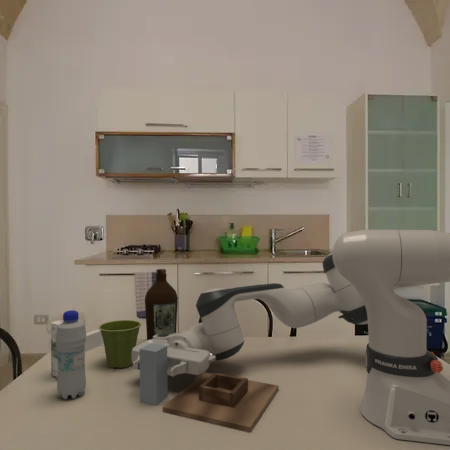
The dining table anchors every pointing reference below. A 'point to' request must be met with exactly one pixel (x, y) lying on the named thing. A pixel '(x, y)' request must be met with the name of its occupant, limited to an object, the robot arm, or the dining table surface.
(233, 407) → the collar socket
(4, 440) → the dining table surface
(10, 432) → the dining table surface
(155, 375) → the grey peg
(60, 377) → the bottle
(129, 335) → the plant pot
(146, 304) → the olive oil
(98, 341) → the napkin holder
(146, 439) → the dining table surface
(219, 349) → the robot arm
